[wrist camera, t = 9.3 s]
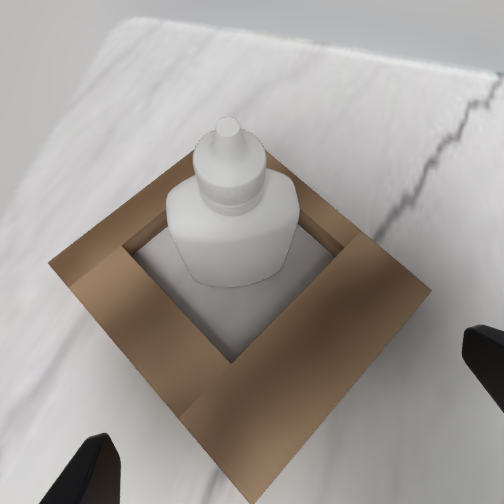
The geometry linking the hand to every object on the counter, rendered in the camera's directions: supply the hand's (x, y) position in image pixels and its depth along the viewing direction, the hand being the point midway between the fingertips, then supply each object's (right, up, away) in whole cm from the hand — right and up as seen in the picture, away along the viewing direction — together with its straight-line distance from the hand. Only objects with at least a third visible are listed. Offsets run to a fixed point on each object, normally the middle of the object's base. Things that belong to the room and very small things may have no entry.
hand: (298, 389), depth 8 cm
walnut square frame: (-2, +1, +12) cm, 12 cm away
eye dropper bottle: (-2, +3, +13) cm, 13 cm away
